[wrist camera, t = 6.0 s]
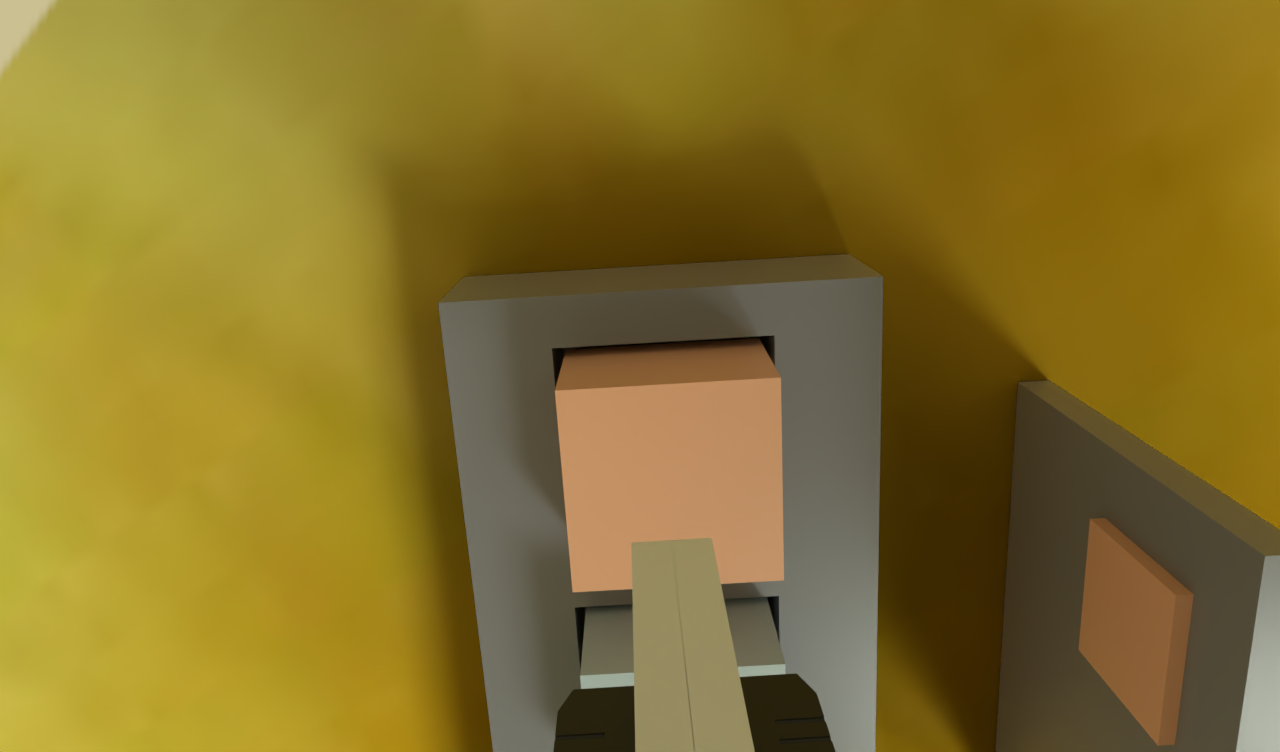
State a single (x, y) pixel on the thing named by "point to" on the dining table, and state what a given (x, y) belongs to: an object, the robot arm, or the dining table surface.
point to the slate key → (614, 654)
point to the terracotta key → (671, 456)
